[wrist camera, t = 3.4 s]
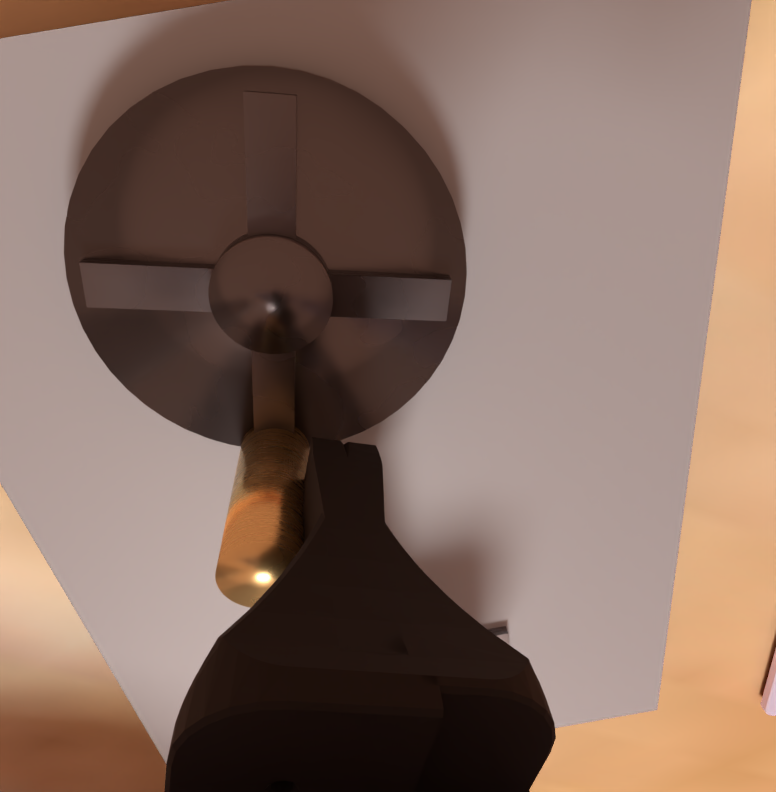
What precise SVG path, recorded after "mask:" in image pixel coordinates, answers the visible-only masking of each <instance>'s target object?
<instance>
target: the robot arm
mask: <svg viewBox="0 0 776 792" xmlns="http://www.w3.org/2000/svg"><path fill="white" fill-rule="evenodd" d="M303 530H304V544H303V545H302V547H301V548H300V550H299V551H298V553H297V554H296V555H295V557H294V558H293V559H292V561H291V562H290V563H289V565H288V566H287V567H286V569H285V570H284V571H283V573H282V574H281V575H280V576H279V578H278V579H277V580H276V581H275V582H274V583H273V584H272V585H271V587H270V588H269V589H268V590H267V591H266V592H265V593H264V594H263V595H262V596H261V597H260V599H259V600H258V601H257V602H256V603H255V604H254V605H253V606H252V607H251V608H250V609H249V610H248V611H247V612H246V613H245V614H244V615H243V616H241V617H240V618H239V619H238V620H237V621H236V622H235V623H234V624H233V625H231V626H230V627H229V628H228V629H227V630H226V631H225V632H224V633H222V634H221V635H220V636H219V637H218V638H217V640H216V642H215V644H214V645H213V647H212V649H211V650H210V652H209V654H208V655H207V657H206V659H205V660H204V662H203V664H202V666H201V667H200V669H199V671H198V673H197V675H196V676H195V678H194V680H193V682H192V684H191V686H190V688H189V690H188V692H187V694H186V696H185V698H184V701H183V703H182V705H181V708H180V711H179V714H178V716H177V719H176V722H175V726H174V730H173V735H172V740H171V744H170V749H169V754H168V758H167V766H166V780H165V792H530V791H529V789H530V787H531V786H532V784H533V782H534V780H535V778H536V777H537V775H538V773H539V771H540V770H541V768H542V766H543V764H544V763H545V761H546V759H547V757H548V756H549V754H550V752H551V749H552V746H553V744H554V741H555V738H556V736H555V723H554V720H553V717H552V714H551V711H550V708H549V706H548V703H547V700H546V697H545V694H544V692H543V690H542V687H541V685H540V682H539V680H538V678H537V676H536V674H535V672H534V670H533V668H532V665H531V663H530V660H529V659H528V658H527V657H526V656H524V655H523V654H521V653H520V652H519V651H517V650H516V649H514V648H513V647H512V646H510V645H509V644H507V643H506V642H504V641H503V640H502V639H500V638H499V637H497V636H496V635H495V634H493V633H492V632H490V631H489V630H488V629H486V628H485V627H484V626H482V625H481V624H480V623H479V622H478V621H476V620H475V619H474V618H473V617H472V616H470V615H469V614H468V613H467V612H465V611H464V610H463V609H462V608H461V607H460V606H458V605H457V604H456V603H455V602H454V601H453V600H452V599H451V598H450V597H448V596H447V595H446V594H445V593H444V592H443V591H442V590H441V589H440V588H439V587H438V586H437V585H436V584H435V583H434V582H433V581H432V580H431V579H430V578H429V577H428V576H427V575H426V574H425V573H424V572H423V570H422V569H421V568H420V567H419V566H418V565H417V564H416V563H415V562H414V560H413V559H412V558H411V557H410V556H409V554H408V553H407V552H406V551H405V549H404V548H403V547H402V545H401V544H400V543H399V542H398V540H397V539H396V537H395V536H394V535H393V533H392V532H391V530H390V529H389V527H388V526H387V524H386V523H385V513H384V487H383V466H382V461H381V457H380V454H379V451H378V449H377V447H376V445H369V444H362V443H354V442H347V443H345V444H343V443H342V442H341V441H339V440H331V439H323V438H316V437H312V440H311V445H310V451H309V456H308V462H307V467H306V473H305V478H304V493H303ZM761 707H762V708H763V710H764V711H765V713H766V714H768V715H771V716H776V649H775V653H774V657H773V660H772V664H771V668H770V671H769V675H768V678H767V682H766V686H765V689H764V693H763V697H762V700H761Z"/></svg>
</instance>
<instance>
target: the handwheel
mask: <svg viewBox="0 0 776 792" xmlns="http://www.w3.org/2000/svg"><path fill="white" fill-rule="evenodd" d="M64 260H65V269H66V278H67V283H68V287H69V290H70V294H71V298H72V302H73V306H74V308H75V311H76V313H77V316H78V318H79V320H80V323H81V325H82V328H83V330H84V332H85V333H86V335H87V337H88V339H89V341H90V342H91V344H92V346H93V348H94V350H95V351H96V353H97V354H98V355H99V357H100V358H101V359H102V361H103V362H104V363H105V365H106V366H107V368H108V369H109V370H110V371H111V373H112V374H113V375H114V376H115V377H116V378H117V379H118V380H119V381H120V382H121V383H122V384H123V386H124V387H125V388H126V389H127V390H129V391H130V392H131V393H132V394H133V395H134V396H136V397H137V398H138V399H139V400H140V401H141V402H143V403H144V404H145V405H146V406H148V407H149V408H151V409H152V410H154V411H155V412H156V413H158V414H159V415H161V416H162V417H164V418H165V419H167V420H169V421H171V422H173V423H175V424H177V425H178V426H180V427H182V428H184V429H186V430H188V431H191V432H193V433H196V434H198V435H201V436H203V437H206V438H208V439H212V440H215V441H219V442H222V443H226V444H229V445H235V446H240V447H241V448H240V453H239V458H238V463H237V468H236V473H235V478H234V483H233V488H232V493H231V498H230V503H229V508H228V513H227V518H226V523H225V528H224V533H223V538H222V543H221V548H220V553H219V558H218V562H217V567H216V572H215V579H216V583H217V586H218V588H219V590H220V591H221V592H222V594H223V595H225V596H226V597H227V598H228V599H229V600H231V601H233V602H235V603H237V604H239V605H242V606H246V607H250V608H251V607H252V606H253V605H254V604H255V603H256V602H257V601H258V600H259V599H260V597H261V596H262V595H263V594H264V593H265V592H266V591H267V590H268V589H269V588H270V587H271V585H272V584H273V583H274V582H275V581H276V580H277V579H278V578H279V576H280V575H281V574H282V573H283V571H284V570H285V569H286V567H287V566H288V565H289V563H290V562H291V561H292V559H293V558H294V557H295V555H296V554H297V553H298V551H299V550H300V548H301V547H302V545H303V544H304V530H303V493H304V478H305V473H306V467H307V462H308V456H309V451H310V449H309V447H310V445H311V440H312V437H316V438H323V439H331V440H339V441H340V440H343V439H346V438H348V437H351V436H353V435H356V434H358V433H361V432H363V431H365V430H367V429H369V428H371V427H373V426H374V425H376V424H378V423H380V422H382V421H383V420H385V419H386V418H388V417H389V416H390V415H392V414H393V413H395V412H396V411H398V410H399V409H400V408H401V407H402V406H404V405H405V404H406V403H407V402H408V401H409V400H410V399H412V398H413V397H414V396H415V395H416V394H417V393H418V392H419V390H420V389H421V388H422V387H423V386H424V385H425V384H426V383H427V381H428V380H429V379H430V378H431V376H432V375H433V373H434V372H435V370H436V369H437V367H438V366H439V365H440V363H441V362H442V360H443V358H444V356H445V354H446V352H447V350H448V348H449V346H450V344H451V342H452V340H453V338H454V335H455V332H456V329H457V326H458V324H459V321H460V317H461V312H462V308H463V303H464V299H465V289H466V277H467V266H466V248H465V243H464V237H463V232H462V227H461V222H460V219H459V216H458V213H457V210H456V207H455V204H454V201H453V198H452V196H451V194H450V192H449V190H448V188H447V186H446V184H445V182H444V180H443V178H442V176H441V174H440V172H439V171H438V169H437V168H436V166H435V165H434V163H433V162H432V160H431V159H430V157H429V156H428V154H427V153H426V151H425V150H424V149H423V148H422V147H421V146H420V144H419V143H418V142H417V141H416V140H415V139H414V138H413V137H412V135H411V134H410V133H409V132H408V131H407V130H406V129H405V128H404V127H403V126H402V125H401V124H400V123H399V122H398V121H397V120H395V119H394V118H393V117H392V116H391V115H390V114H388V113H387V112H386V111H385V110H384V109H383V108H382V107H380V106H379V105H377V104H376V103H374V102H373V101H371V100H370V99H368V98H367V97H365V96H364V95H362V94H360V93H359V92H357V91H356V90H354V89H351V88H349V87H347V86H345V85H343V84H341V83H339V82H337V81H334V80H332V79H330V78H327V77H324V76H320V75H317V74H314V73H311V72H308V71H304V70H300V69H293V68H287V67H281V66H275V65H241V66H234V67H226V68H219V69H213V70H209V71H205V72H202V73H199V74H195V75H192V76H188V77H185V78H182V79H179V80H177V81H175V82H173V83H171V84H168V85H166V86H164V87H162V88H160V89H158V90H156V91H154V92H152V93H151V94H149V95H148V96H146V97H145V98H143V99H142V100H140V101H139V102H137V103H136V104H135V105H133V106H132V107H130V108H129V109H128V110H127V111H126V112H125V113H124V114H123V115H121V116H120V117H119V118H118V119H117V120H116V121H115V122H114V123H113V124H112V125H111V126H110V127H109V128H108V129H107V130H106V132H105V133H104V134H103V136H102V137H101V138H100V140H99V141H98V142H97V144H96V145H95V146H94V147H93V149H92V150H91V152H90V154H89V156H88V158H87V159H86V161H85V163H84V165H83V167H82V169H81V171H80V172H79V174H78V177H77V180H76V183H75V186H74V189H73V191H72V194H71V197H70V200H69V205H68V211H67V216H66V222H65V229H64Z"/></svg>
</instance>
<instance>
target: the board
mask: <svg viewBox="0 0 776 792" xmlns="http://www.w3.org/2000/svg"><path fill="white" fill-rule="evenodd" d="M751 1H752V0H229V1H223V2H217V3H211V4H205V5H199V6H193V7H187V8H181V9H175V10H169V11H163V12H157V13H151V14H145V15H139V16H133V17H127V18H120V19H114V20H108V21H102V22H96V23H90V24H84V25H78V26H72V27H66V28H60V29H54V30H48V31H42V32H36V33H30V34H24V35H18V36H12V37H6V38H0V483H1V485H2V487H3V488H4V490H5V492H6V493H7V495H8V497H9V499H10V500H11V502H12V504H13V505H14V507H15V509H16V510H17V512H18V514H19V516H20V517H21V519H22V521H23V522H24V524H25V526H26V527H27V529H28V531H29V532H30V534H31V536H32V538H33V539H34V541H35V543H36V544H37V546H38V548H39V549H40V551H41V553H42V554H43V556H44V558H45V560H46V561H47V563H48V565H49V566H50V568H51V570H52V571H53V573H54V575H55V577H56V578H57V580H58V582H59V583H60V585H61V587H62V588H63V590H64V592H65V593H66V595H67V597H68V599H69V600H70V602H71V604H72V605H73V607H74V609H75V610H76V612H77V614H78V615H79V617H80V619H81V621H82V622H83V624H84V626H85V627H86V629H87V631H88V632H89V634H90V636H91V638H92V639H93V641H94V643H95V644H96V646H97V648H98V649H99V651H100V653H101V654H102V656H103V658H104V660H105V661H106V663H107V665H108V666H109V668H110V670H111V671H112V673H113V675H114V677H115V678H116V680H117V682H118V683H119V685H120V687H121V688H122V690H123V692H124V693H125V695H126V697H127V699H128V700H129V702H130V704H131V705H132V707H133V709H134V710H135V712H136V714H137V715H138V717H139V719H140V721H141V722H142V724H143V726H144V727H145V729H146V731H147V732H148V734H149V736H150V738H151V739H152V741H153V743H154V744H155V746H156V748H157V749H158V751H159V753H160V754H161V756H162V758H163V760H164V761H165V763H166V765H167V758H168V754H169V749H170V744H171V740H172V735H173V730H174V726H175V722H176V719H177V716H178V714H179V711H180V708H181V705H182V703H183V701H184V698H185V696H186V694H187V692H188V690H189V688H190V686H191V684H192V682H193V680H194V678H195V676H196V675H197V673H198V671H199V669H200V667H201V666H202V664H203V662H204V660H205V659H206V657H207V655H208V654H209V652H210V650H211V649H212V647H213V645H214V644H215V642H216V640H217V638H218V637H219V636H220V635H221V634H222V633H224V632H225V631H226V630H227V629H228V628H229V627H230V626H231V625H233V624H234V623H235V622H236V621H237V620H238V619H239V618H240V617H241V616H243V615H244V614H245V613H246V612H247V611H248V610H249V609H250V607H246V606H242V605H239V604H237V603H235V602H233V601H231V600H229V599H228V598H227V597H226V596H225V595H223V594H222V592H221V591H220V590H219V588H218V586H217V583H216V579H215V572H216V567H217V562H218V558H219V553H220V548H221V543H222V538H223V533H224V528H225V523H226V518H227V513H228V508H229V503H230V498H231V493H232V488H233V483H234V478H235V473H236V468H237V463H238V458H239V453H240V448H241V447H240V446H235V445H229V444H226V443H222V442H219V441H215V440H212V439H208V438H206V437H203V436H201V435H198V434H196V433H193V432H191V431H188V430H186V429H184V428H182V427H180V426H178V425H177V424H175V423H173V422H171V421H169V420H167V419H165V418H164V417H162V416H161V415H159V414H158V413H156V412H155V411H154V410H152V409H151V408H149V407H148V406H146V405H145V404H144V403H143V402H141V401H140V400H139V399H138V398H137V397H136V396H134V395H133V394H132V393H131V392H130V391H129V390H127V389H126V388H125V387H124V386H123V384H122V383H121V382H120V381H119V380H118V379H117V378H116V377H115V376H114V375H113V374H112V373H111V371H110V370H109V369H108V368H107V366H106V365H105V363H104V362H103V361H102V359H101V358H100V357H99V355H98V354H97V353H96V351H95V350H94V348H93V346H92V344H91V342H90V341H89V339H88V337H87V335H86V333H85V332H84V330H83V328H82V325H81V323H80V320H79V318H78V316H77V313H76V311H75V308H74V306H73V302H72V298H71V294H70V290H69V287H68V283H67V278H66V269H65V260H64V229H65V222H66V216H67V211H68V205H69V200H70V197H71V194H72V191H73V189H74V186H75V183H76V180H77V177H78V174H79V172H80V171H81V169H82V167H83V165H84V163H85V161H86V159H87V158H88V156H89V154H90V152H91V150H92V149H93V147H94V146H95V145H96V144H97V142H98V141H99V140H100V138H101V137H102V136H103V134H104V133H105V132H106V130H107V129H108V128H109V127H110V126H111V125H112V124H113V123H114V122H115V121H116V120H117V119H118V118H119V117H120V116H121V115H123V114H124V113H125V112H126V111H127V110H128V109H129V108H130V107H132V106H133V105H135V104H136V103H137V102H139V101H140V100H142V99H143V98H145V97H146V96H148V95H149V94H151V93H152V92H154V91H156V90H158V89H160V88H162V87H164V86H166V85H168V84H171V83H173V82H175V81H177V80H179V79H182V78H185V77H188V76H192V75H195V74H199V73H202V72H205V71H209V70H213V69H219V68H226V67H234V66H241V65H275V66H281V67H287V68H293V69H300V70H304V71H308V72H311V73H314V74H317V75H320V76H324V77H327V78H330V79H332V80H334V81H337V82H339V83H341V84H343V85H345V86H347V87H349V88H351V89H354V90H356V91H357V92H359V93H360V94H362V95H364V96H365V97H367V98H368V99H370V100H371V101H373V102H374V103H376V104H377V105H379V106H380V107H382V108H383V109H384V110H385V111H386V112H387V113H388V114H390V115H391V116H392V117H393V118H394V119H395V120H397V121H398V122H399V123H400V124H401V125H402V126H403V127H404V128H405V129H406V130H407V131H408V132H409V133H410V134H411V135H412V137H413V138H414V139H415V140H416V141H417V142H418V143H419V144H420V146H421V147H422V148H423V149H424V150H425V151H426V153H427V154H428V156H429V157H430V159H431V160H432V162H433V163H434V165H435V166H436V168H437V169H438V171H439V172H440V174H441V176H442V178H443V180H444V182H445V184H446V186H447V188H448V190H449V192H450V194H451V196H452V198H453V201H454V204H455V207H456V210H457V213H458V216H459V219H460V222H461V227H462V232H463V237H464V243H465V248H466V266H467V277H466V289H465V299H464V303H463V308H462V312H461V317H460V321H459V324H458V326H457V329H456V332H455V335H454V338H453V340H452V342H451V344H450V346H449V348H448V350H447V352H446V354H445V356H444V358H443V360H442V362H441V363H440V365H439V366H438V367H437V369H436V370H435V372H434V373H433V375H432V376H431V378H430V379H429V380H428V381H427V383H426V384H425V385H424V386H423V387H422V388H421V389H420V390H419V392H418V393H417V394H416V395H415V396H414V397H413V398H412V399H410V400H409V401H408V402H407V403H406V404H405V405H404V406H402V407H401V408H400V409H399V410H398V411H396V412H395V413H393V414H392V415H390V416H389V417H388V418H386V419H385V420H383V421H382V422H380V423H378V424H376V425H374V426H373V427H371V428H369V429H367V430H365V431H363V432H361V433H358V434H356V435H353V436H351V437H348V438H346V439H343V440H340V441H341V442H342V443H343V444H345V443H347V442H354V443H362V444H369V445H376V447H377V449H378V451H379V454H380V457H381V461H382V466H383V487H384V513H385V523H386V524H387V526H388V527H389V529H390V530H391V532H392V533H393V535H394V536H395V537H396V539H397V540H398V542H399V543H400V544H401V545H402V547H403V548H404V549H405V551H406V552H407V553H408V554H409V556H410V557H411V558H412V559H413V560H414V562H415V563H416V564H417V565H418V566H419V567H420V568H421V569H422V570H423V572H424V573H425V574H426V575H427V576H428V577H429V578H430V579H431V580H432V581H433V582H434V583H435V584H436V585H437V586H438V587H439V588H440V589H441V590H442V591H443V592H444V593H445V594H446V595H447V596H448V597H450V598H451V599H452V600H453V601H454V602H455V603H456V604H457V605H458V606H460V607H461V608H462V609H463V610H464V611H465V612H467V613H468V614H469V615H470V616H472V617H473V618H474V619H475V620H476V621H478V622H479V623H480V624H481V625H482V626H484V627H485V628H486V629H491V628H497V627H503V626H506V628H507V631H508V636H509V645H510V646H512V647H513V648H514V649H516V650H517V651H519V652H520V653H521V654H523V655H524V656H526V657H527V658H528V659H529V660H530V663H531V665H532V668H533V670H534V672H535V674H536V676H537V678H538V680H539V682H540V685H541V687H542V690H543V692H544V694H545V697H546V700H547V703H548V706H549V708H550V711H551V714H552V717H553V720H554V723H555V728H558V727H564V726H570V725H575V724H581V723H586V722H592V721H598V720H603V719H609V718H614V717H620V716H626V715H631V714H637V713H642V712H648V711H654V710H657V707H658V700H659V692H660V685H661V677H662V670H663V662H664V655H665V647H666V640H667V632H668V625H669V617H670V610H671V602H672V595H673V587H674V579H675V572H676V564H677V557H678V549H679V542H680V534H681V527H682V519H683V512H684V504H685V497H686V489H687V482H688V474H689V467H690V459H691V452H692V444H693V437H694V429H695V422H696V414H697V407H698V399H699V392H700V384H701V376H702V369H703V361H704V354H705V346H706V339H707V331H708V324H709V316H710V309H711V301H712V294H713V286H714V279H715V271H716V264H717V256H718V249H719V241H720V234H721V226H722V219H723V211H724V204H725V196H726V189H727V181H728V173H729V166H730V158H731V151H732V143H733V136H734V128H735V121H736V113H737V106H738V98H739V91H740V83H741V76H742V68H743V61H744V53H745V46H746V38H747V31H748V23H749V16H750V8H751ZM309 449H310V447H309Z"/></svg>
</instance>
